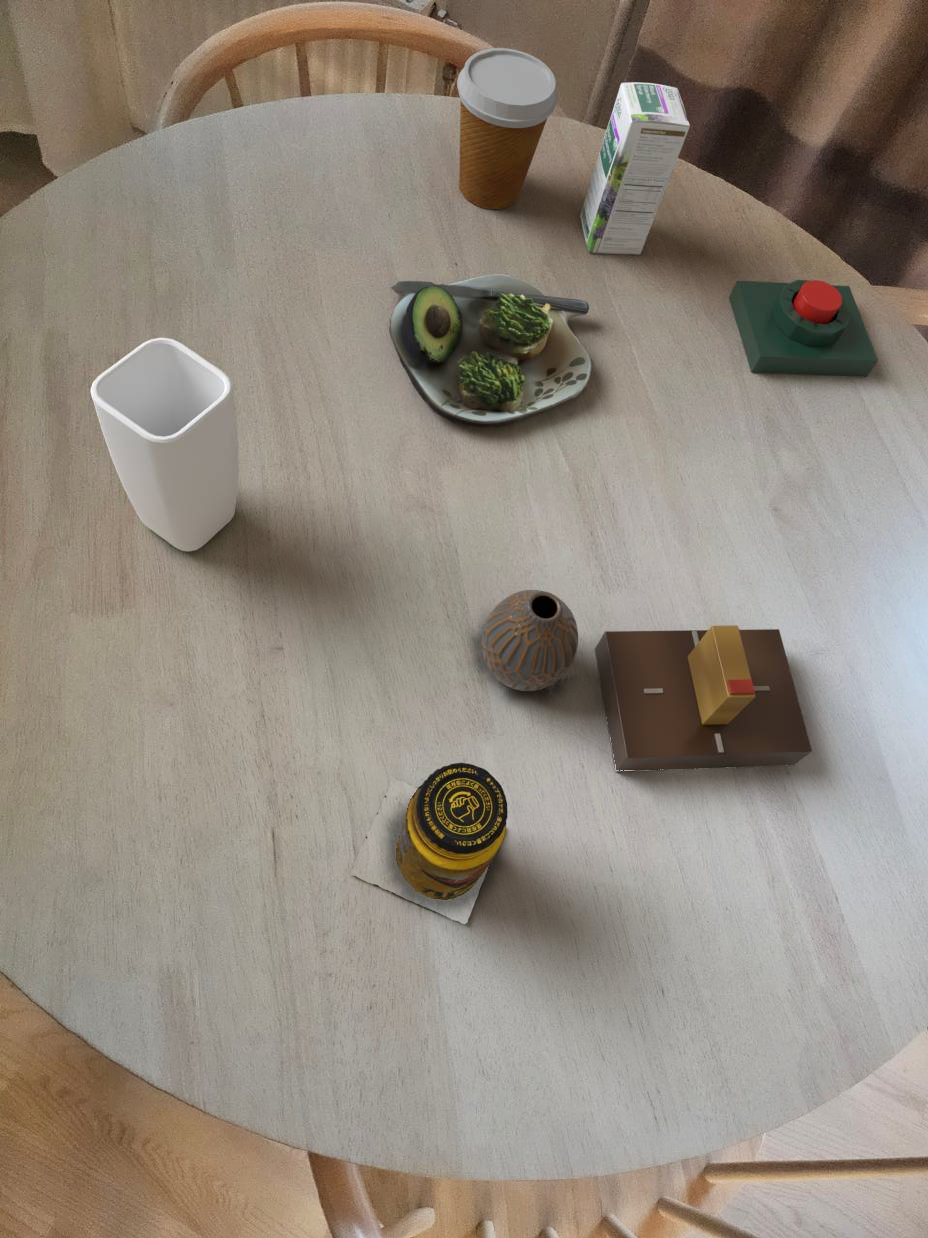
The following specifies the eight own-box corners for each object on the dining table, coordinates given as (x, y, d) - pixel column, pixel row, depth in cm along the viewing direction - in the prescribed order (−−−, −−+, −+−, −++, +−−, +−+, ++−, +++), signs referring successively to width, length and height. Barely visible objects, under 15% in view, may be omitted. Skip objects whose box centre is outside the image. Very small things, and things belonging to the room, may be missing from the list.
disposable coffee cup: (503, 234, 95) (527, 122, 84) (425, 189, 96) (438, 74, 86) (551, 187, 99) (579, 76, 89) (475, 146, 101) (494, 31, 90)
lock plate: (763, 646, 76) (780, 627, 73) (794, 765, 71) (813, 750, 68) (594, 649, 73) (605, 630, 71) (615, 772, 69) (627, 757, 66)
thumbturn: (686, 656, 71) (712, 623, 66) (712, 656, 71) (739, 623, 66) (701, 725, 68) (729, 696, 64) (728, 724, 68) (757, 695, 64)
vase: (517, 721, 70) (543, 670, 62) (456, 654, 72) (474, 596, 64) (583, 669, 72) (614, 615, 65) (522, 606, 74) (546, 546, 67)
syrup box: (577, 215, 98) (617, 78, 85) (632, 217, 99) (679, 83, 86) (587, 254, 95) (629, 119, 82) (643, 256, 96) (693, 123, 83)
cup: (186, 464, 76) (160, 327, 63) (256, 513, 75) (243, 384, 62) (119, 521, 73) (77, 389, 60) (190, 573, 72) (163, 450, 59)
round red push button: (827, 294, 92) (835, 280, 90) (838, 325, 90) (847, 311, 88) (788, 292, 91) (796, 278, 89) (799, 323, 89) (807, 309, 88)
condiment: (466, 927, 62) (497, 884, 52) (348, 875, 63) (355, 823, 52) (504, 826, 66) (540, 768, 55) (392, 778, 66) (407, 712, 56)
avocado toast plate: (544, 261, 94) (554, 222, 90) (635, 393, 87) (650, 357, 83) (363, 304, 87) (365, 264, 83) (446, 449, 81) (453, 414, 77)
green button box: (838, 302, 97) (858, 271, 93) (866, 377, 92) (888, 347, 89) (728, 297, 95) (744, 265, 91) (751, 373, 90) (768, 342, 87)
